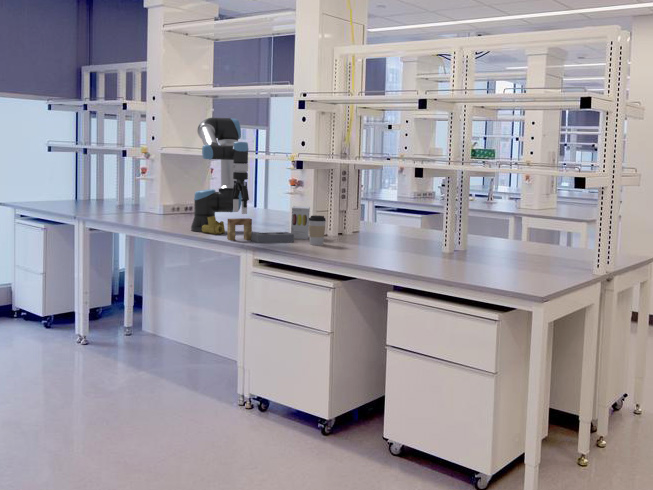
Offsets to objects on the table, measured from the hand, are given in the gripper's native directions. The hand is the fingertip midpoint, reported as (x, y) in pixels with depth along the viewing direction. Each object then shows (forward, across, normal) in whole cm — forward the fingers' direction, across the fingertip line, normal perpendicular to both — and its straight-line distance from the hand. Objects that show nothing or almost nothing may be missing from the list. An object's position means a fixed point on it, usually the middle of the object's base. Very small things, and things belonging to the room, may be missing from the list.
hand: (239, 212), depth 379 cm
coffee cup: (+15, +24, +33) cm, 44 cm away
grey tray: (+14, +8, +15) cm, 22 cm away
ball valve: (+14, -28, -5) cm, 32 cm away
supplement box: (+14, -2, +35) cm, 38 cm away
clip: (+14, -1, 0) cm, 14 cm away
